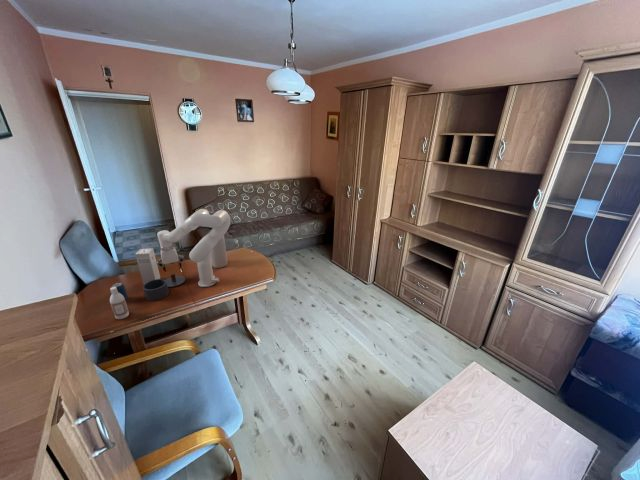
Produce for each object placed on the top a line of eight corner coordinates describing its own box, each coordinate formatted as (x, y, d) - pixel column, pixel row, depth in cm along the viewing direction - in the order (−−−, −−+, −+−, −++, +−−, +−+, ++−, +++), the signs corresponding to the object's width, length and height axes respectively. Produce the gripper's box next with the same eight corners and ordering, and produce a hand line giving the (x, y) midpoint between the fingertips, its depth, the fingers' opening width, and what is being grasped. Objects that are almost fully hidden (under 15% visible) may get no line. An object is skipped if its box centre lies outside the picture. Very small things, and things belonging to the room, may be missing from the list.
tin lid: (188, 277, 202) (187, 269, 199) (179, 288, 188) (177, 279, 186) (169, 277, 202) (167, 268, 199) (159, 287, 188) (156, 279, 185)
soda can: (126, 295, 178) (121, 280, 174) (129, 299, 174) (124, 284, 170) (113, 300, 174) (108, 284, 169) (117, 304, 169) (112, 288, 165)
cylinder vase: (209, 264, 222) (205, 236, 212) (223, 259, 229) (220, 233, 220) (215, 269, 213) (211, 241, 203) (230, 265, 221) (226, 237, 211)
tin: (172, 289, 186) (170, 279, 183) (162, 301, 174) (159, 290, 171) (153, 289, 186) (150, 278, 183) (141, 300, 174) (138, 290, 170)
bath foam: (115, 321, 155) (105, 292, 147) (115, 314, 160) (106, 286, 153) (129, 317, 159) (120, 289, 151) (129, 310, 164) (120, 283, 156)
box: (160, 278, 200) (153, 248, 190) (156, 284, 192) (148, 253, 183) (148, 279, 198) (140, 249, 189) (143, 285, 191) (135, 254, 181)
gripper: (180, 243, 191) (185, 264, 198) (152, 248, 183) (159, 270, 189) (181, 247, 185) (186, 268, 192) (153, 252, 177) (159, 274, 184)
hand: (173, 269), depth 191 cm, fingers open, 9 cm apart
